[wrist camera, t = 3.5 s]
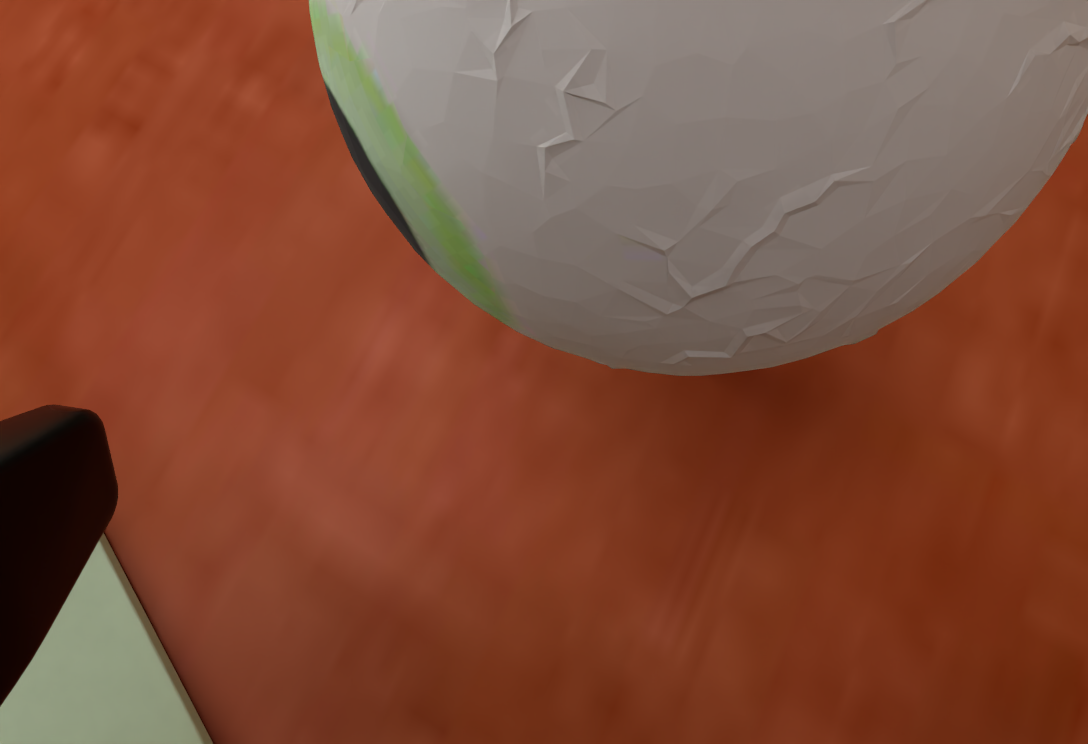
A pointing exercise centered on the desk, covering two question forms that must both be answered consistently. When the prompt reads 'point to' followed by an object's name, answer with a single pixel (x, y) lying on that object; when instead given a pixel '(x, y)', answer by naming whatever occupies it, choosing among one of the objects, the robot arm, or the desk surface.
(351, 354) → the desk surface
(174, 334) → the desk surface
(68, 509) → the robot arm
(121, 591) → the desk mat
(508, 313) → the lollipop
